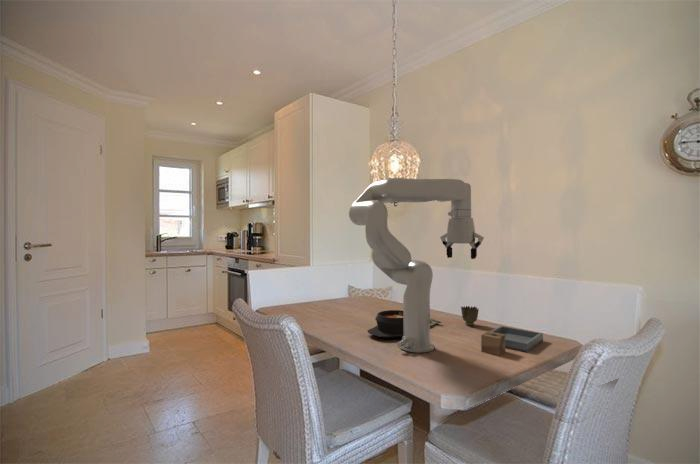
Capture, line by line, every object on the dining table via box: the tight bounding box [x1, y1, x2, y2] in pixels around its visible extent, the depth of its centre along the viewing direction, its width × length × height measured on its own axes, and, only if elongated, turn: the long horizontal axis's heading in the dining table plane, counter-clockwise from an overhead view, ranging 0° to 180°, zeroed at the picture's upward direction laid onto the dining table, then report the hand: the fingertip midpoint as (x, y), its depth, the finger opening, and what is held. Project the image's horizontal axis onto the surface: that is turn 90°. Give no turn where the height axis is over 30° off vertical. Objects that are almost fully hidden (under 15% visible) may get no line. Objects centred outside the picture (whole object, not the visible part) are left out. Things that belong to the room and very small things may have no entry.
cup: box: [460, 305, 479, 327], centre depth 163 cm, size 8×7×8 cm
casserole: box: [367, 309, 403, 339], centre depth 150 cm, size 25×19×8 cm
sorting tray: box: [489, 325, 544, 353], centre depth 139 cm, size 18×16×3 cm
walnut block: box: [480, 330, 506, 357], centre depth 128 cm, size 6×6×6 cm
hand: (461, 258), depth 143 cm, fingers open, 9 cm apart
